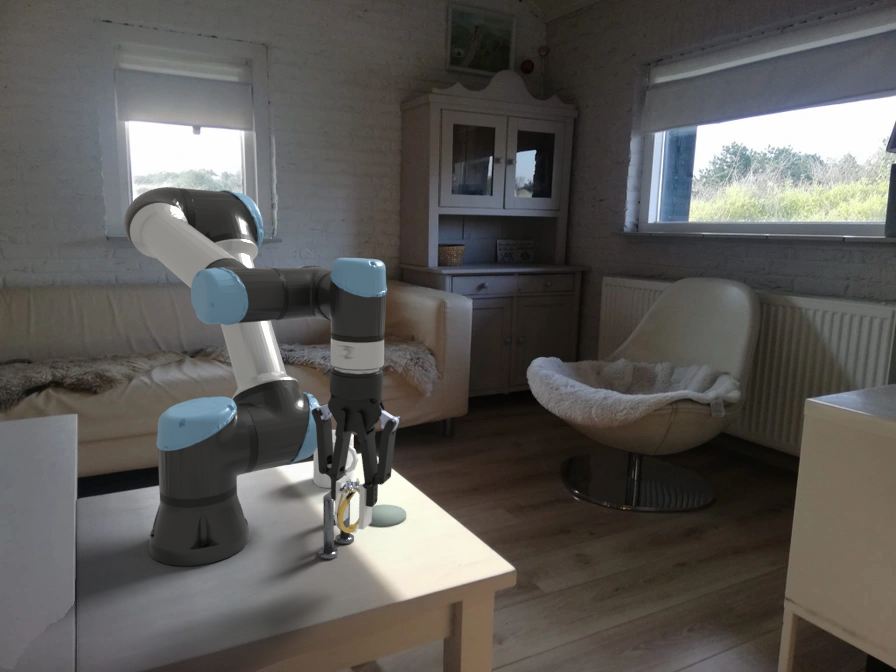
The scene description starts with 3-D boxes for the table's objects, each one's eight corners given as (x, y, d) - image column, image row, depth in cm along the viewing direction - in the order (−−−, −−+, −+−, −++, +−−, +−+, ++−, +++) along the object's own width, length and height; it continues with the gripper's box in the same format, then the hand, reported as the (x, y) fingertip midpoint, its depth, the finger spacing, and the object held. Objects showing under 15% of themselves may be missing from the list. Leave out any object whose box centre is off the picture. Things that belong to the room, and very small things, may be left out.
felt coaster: (354, 521, 116) (354, 518, 116) (373, 504, 123) (373, 501, 123) (395, 529, 113) (395, 526, 113) (412, 511, 121) (412, 508, 121)
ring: (344, 544, 92) (343, 490, 91) (328, 537, 94) (327, 485, 93) (376, 526, 98) (376, 475, 96) (360, 520, 100) (360, 470, 98)
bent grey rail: (290, 552, 104) (290, 492, 103) (336, 515, 118) (336, 463, 117) (332, 561, 102) (332, 500, 100) (373, 522, 116) (374, 469, 114)
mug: (340, 497, 126) (340, 448, 125) (306, 480, 135) (305, 434, 133) (372, 487, 132) (373, 440, 131) (338, 471, 140) (338, 427, 139)
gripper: (292, 366, 91) (291, 523, 95) (399, 380, 86) (393, 544, 90) (320, 357, 98) (318, 503, 102) (419, 369, 93) (413, 522, 97)
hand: (353, 522), depth 96 cm, fingers closed on ring, 3 cm apart
